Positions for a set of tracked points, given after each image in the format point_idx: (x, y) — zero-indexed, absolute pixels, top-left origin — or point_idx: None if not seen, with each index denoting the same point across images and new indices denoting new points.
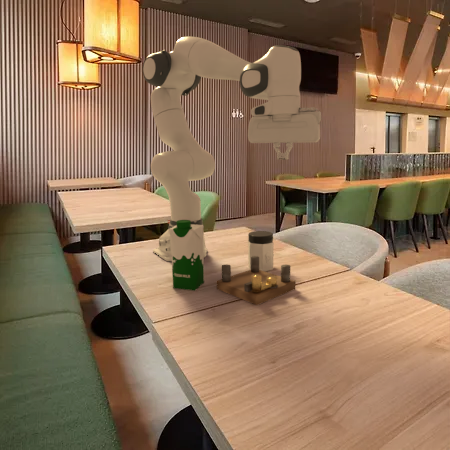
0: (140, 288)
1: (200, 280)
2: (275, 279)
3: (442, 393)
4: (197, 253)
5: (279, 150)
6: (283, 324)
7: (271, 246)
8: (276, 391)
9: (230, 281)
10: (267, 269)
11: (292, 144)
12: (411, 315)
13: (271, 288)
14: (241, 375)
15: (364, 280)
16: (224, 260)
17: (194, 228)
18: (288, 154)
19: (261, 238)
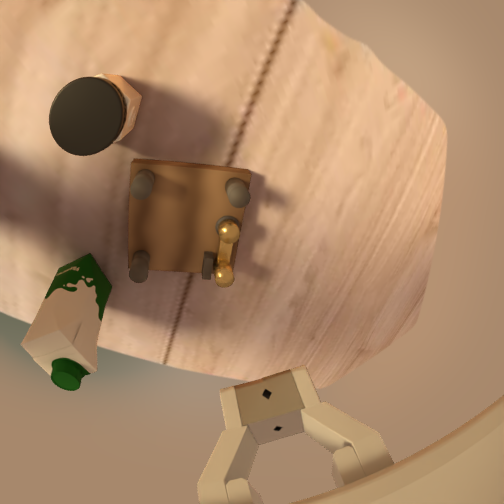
0: None
1: (100, 276)
2: (239, 235)
3: (424, 288)
4: (100, 324)
5: (242, 451)
6: (291, 285)
7: (130, 106)
8: (328, 356)
9: (150, 255)
10: (136, 114)
11: (385, 454)
12: (419, 165)
13: None
14: (298, 362)
15: (343, 48)
16: (15, 128)
17: (83, 362)
18: (316, 394)
19: (111, 143)
